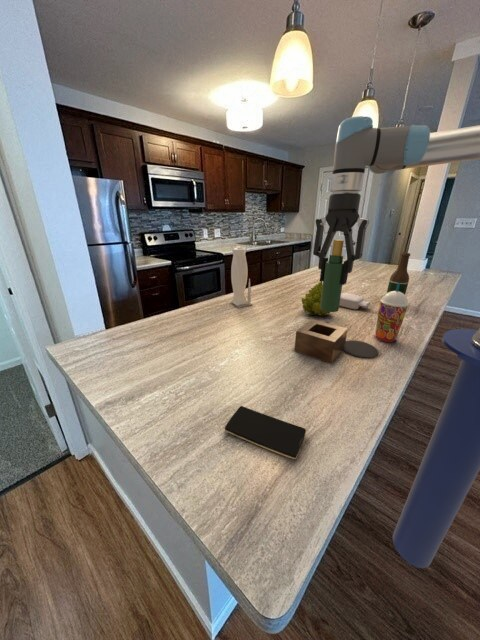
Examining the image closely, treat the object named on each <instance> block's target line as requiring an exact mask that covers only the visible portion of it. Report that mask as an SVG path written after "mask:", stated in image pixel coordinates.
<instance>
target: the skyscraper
mask: <svg viewBox="0 0 480 640" xmlns="http://www.w3.org/2000/svg"><path fill="white" fill-rule="evenodd" d="M233 246H235V247H234V248H233ZM230 247H231V250H232V251H231V252H232V261H231V268H230V269H231V270H230V279H231V287H232V292H233V295H232V299H231V304H232V305H234V307H237V308H238V309H239V308H243V307H250V306H252V305H253V304H252V287H251V278H248V277H249V276H248V274H249V273H248V271H249V270H248V262H247V256H246V253H247V249H248V248H247V246H244V245H243V246H242V245H241V244H239V243H231V244H230ZM247 282H248V287H247ZM246 287H247V300H246V296H245V292H246Z"/></svg>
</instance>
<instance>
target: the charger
mask: <svg viewBox="0 0 480 640" xmlns="http://www.w3.org/2000/svg"><path fill="white" fill-rule="evenodd" d="M373 306H374V304H372V303H371V302H370V301H366V300H365V298H364V296H362V295H357V294H353V293H348V292H341V297H340V304H339V307H342V308H347V309H351V310H355V311H356V310H358V309H360V308H365V309H367V308H369V307H370V308H372V307H373Z"/></svg>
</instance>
